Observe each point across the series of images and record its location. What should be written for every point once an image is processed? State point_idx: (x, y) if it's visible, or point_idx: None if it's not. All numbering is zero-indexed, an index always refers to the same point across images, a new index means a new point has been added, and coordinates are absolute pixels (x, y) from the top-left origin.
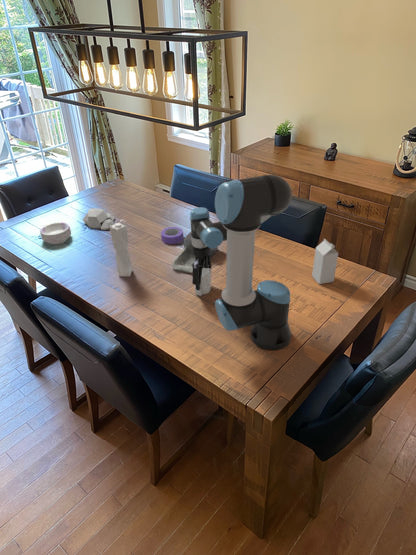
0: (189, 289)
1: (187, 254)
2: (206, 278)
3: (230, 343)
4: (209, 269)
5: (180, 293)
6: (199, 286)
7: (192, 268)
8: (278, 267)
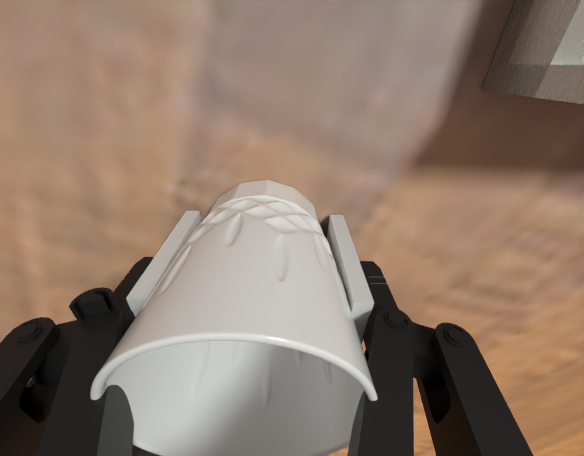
0: (231, 130)
1: None
2: (189, 411)
3: None
4: (330, 438)
5: (131, 69)
6: None
7: (574, 38)
8: (521, 420)
